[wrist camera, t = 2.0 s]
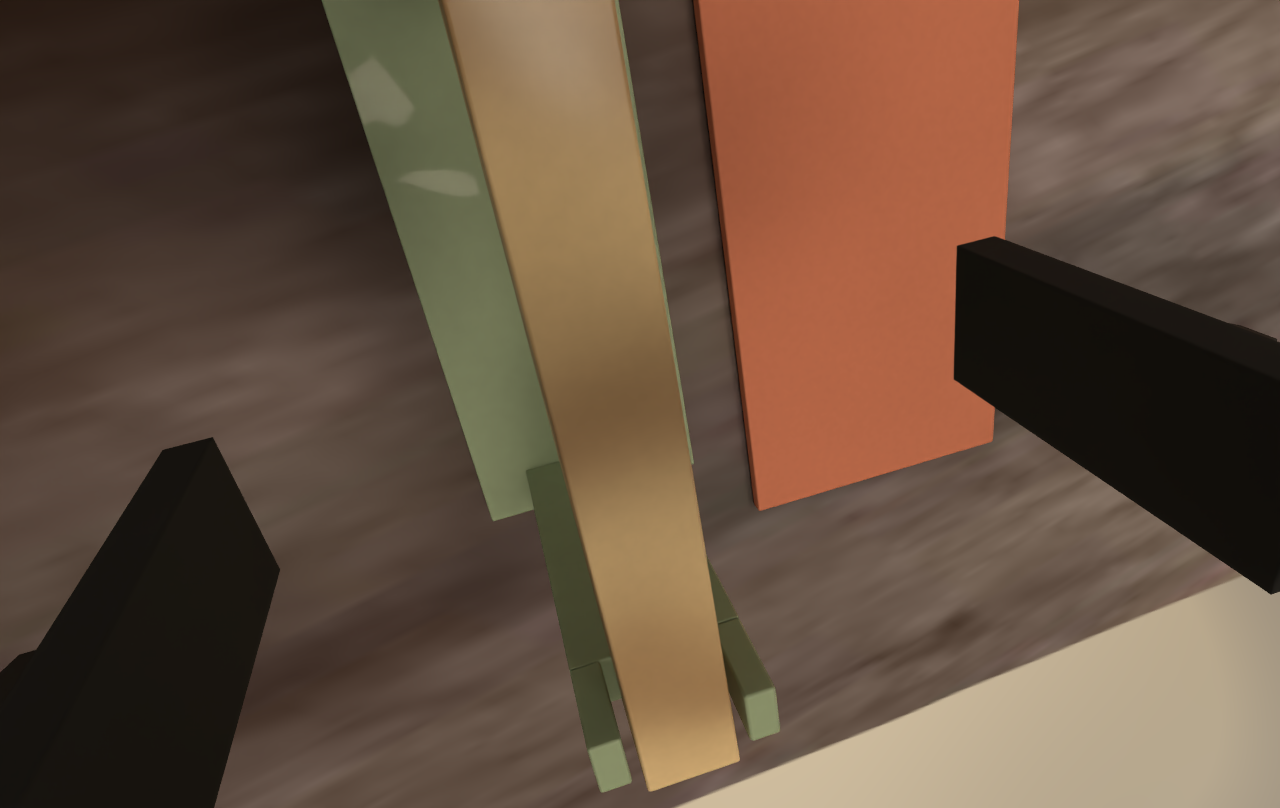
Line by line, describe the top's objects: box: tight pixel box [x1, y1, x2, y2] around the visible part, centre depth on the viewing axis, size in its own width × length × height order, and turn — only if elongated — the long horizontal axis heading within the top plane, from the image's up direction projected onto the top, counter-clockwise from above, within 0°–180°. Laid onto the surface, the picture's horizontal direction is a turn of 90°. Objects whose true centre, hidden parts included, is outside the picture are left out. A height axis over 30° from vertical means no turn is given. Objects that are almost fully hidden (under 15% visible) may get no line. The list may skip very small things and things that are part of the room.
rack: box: [322, 0, 780, 792], centre depth 20 cm, size 21×8×14 cm, turn 10°
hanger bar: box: [438, 0, 740, 791], centre depth 15 cm, size 22×2×2 cm, turn 10°
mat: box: [693, 0, 1019, 511], centre depth 28 cm, size 24×11×1 cm, turn 10°
